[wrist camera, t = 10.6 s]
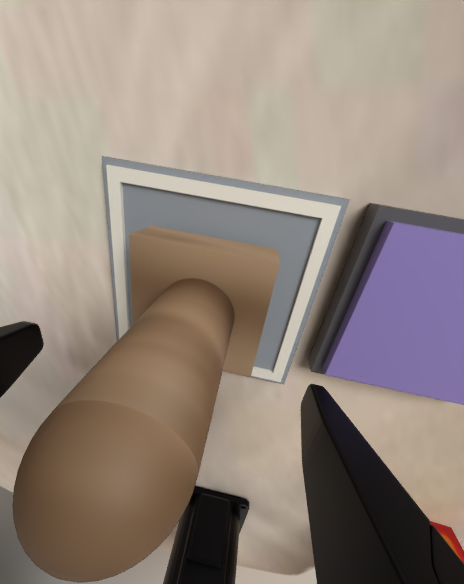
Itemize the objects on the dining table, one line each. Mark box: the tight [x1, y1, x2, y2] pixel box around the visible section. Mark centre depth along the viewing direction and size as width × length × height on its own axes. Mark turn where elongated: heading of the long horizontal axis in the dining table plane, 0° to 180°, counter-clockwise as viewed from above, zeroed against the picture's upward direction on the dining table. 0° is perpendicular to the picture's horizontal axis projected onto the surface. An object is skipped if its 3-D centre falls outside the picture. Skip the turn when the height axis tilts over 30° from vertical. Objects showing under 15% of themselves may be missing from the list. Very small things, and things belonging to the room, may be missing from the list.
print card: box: [102, 156, 349, 384], centre depth 13 cm, size 11×11×1 cm
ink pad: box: [308, 203, 464, 405], centre depth 11 cm, size 9×9×2 cm
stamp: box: [13, 226, 280, 582], centre depth 8 cm, size 6×6×10 cm
